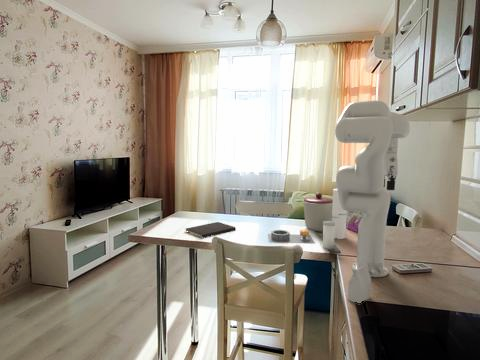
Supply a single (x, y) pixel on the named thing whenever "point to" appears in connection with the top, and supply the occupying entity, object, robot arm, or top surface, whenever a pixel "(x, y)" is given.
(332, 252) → the mat
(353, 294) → the white doll dress
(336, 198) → the cylindrical container
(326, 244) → the cylinder
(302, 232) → the plunger
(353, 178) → the robot arm
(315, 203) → the canister
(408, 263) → the top surface
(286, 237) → the plate
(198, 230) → the hardcover book
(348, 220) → the candy bar box
